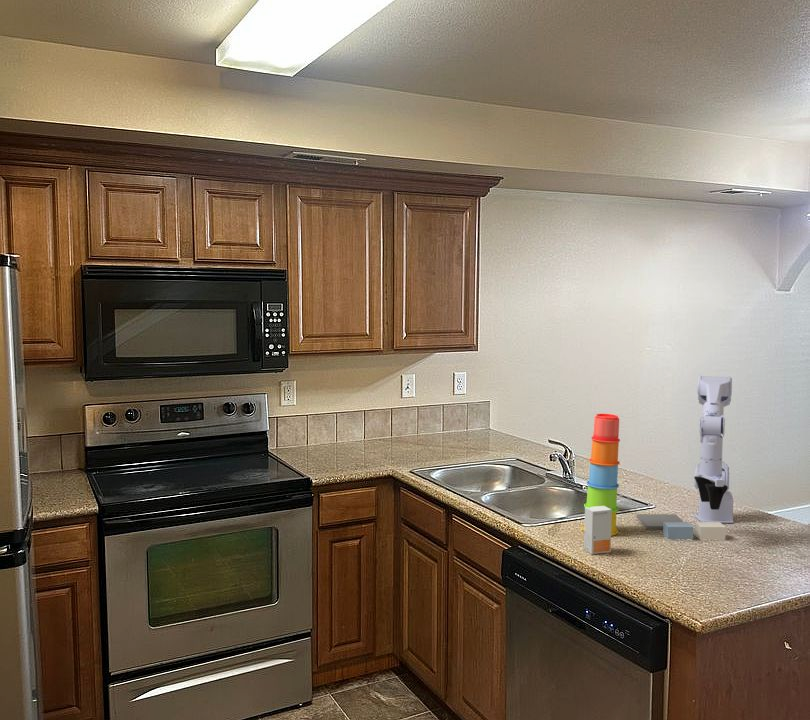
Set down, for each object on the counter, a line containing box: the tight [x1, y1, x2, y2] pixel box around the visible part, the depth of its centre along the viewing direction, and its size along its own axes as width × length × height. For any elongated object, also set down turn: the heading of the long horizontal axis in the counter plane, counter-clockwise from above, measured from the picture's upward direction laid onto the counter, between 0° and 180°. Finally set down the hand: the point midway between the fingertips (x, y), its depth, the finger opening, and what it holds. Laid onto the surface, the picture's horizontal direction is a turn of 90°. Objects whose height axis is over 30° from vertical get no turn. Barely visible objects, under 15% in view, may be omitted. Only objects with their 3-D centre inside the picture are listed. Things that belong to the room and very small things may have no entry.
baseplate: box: [636, 513, 684, 531], centre depth 231 cm, size 12×12×1 cm
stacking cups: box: [581, 413, 621, 537], centre depth 223 cm, size 10×10×35 cm
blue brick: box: [662, 521, 694, 540], centre depth 218 cm, size 7×4×4 cm, turn 87°
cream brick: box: [694, 521, 727, 541], centre depth 218 cm, size 7×4×4 cm, turn 87°
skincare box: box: [583, 506, 612, 555], centre depth 207 cm, size 6×4×12 cm
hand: (709, 505), depth 217 cm, fingers open, 7 cm apart
